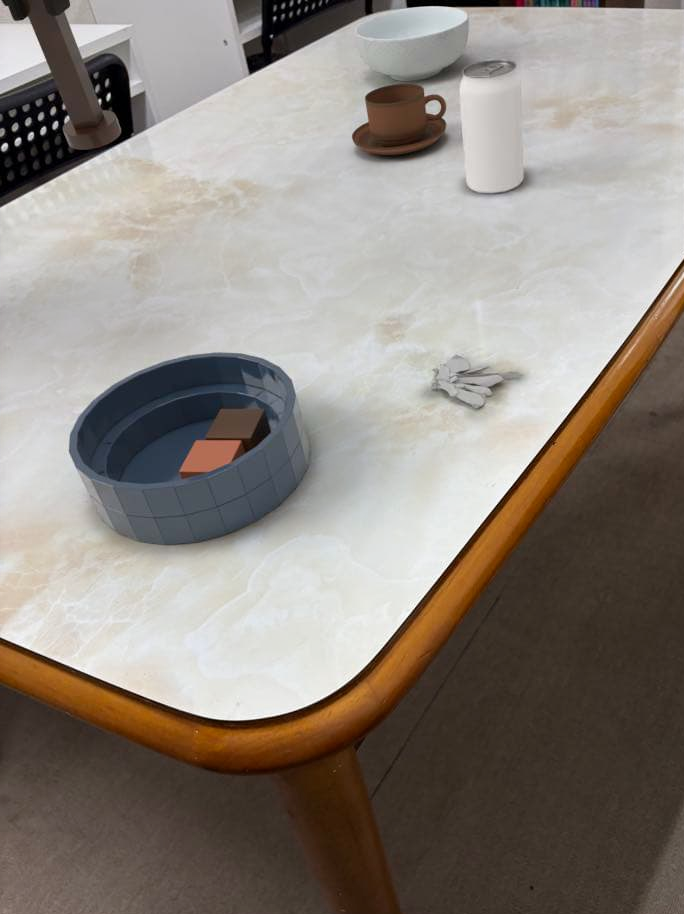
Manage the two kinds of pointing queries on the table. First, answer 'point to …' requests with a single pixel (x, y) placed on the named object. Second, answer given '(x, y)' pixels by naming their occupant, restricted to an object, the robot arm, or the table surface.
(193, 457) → the block terracotta
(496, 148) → the can
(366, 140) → the cup and saucer
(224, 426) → the block walnut
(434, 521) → the table surface
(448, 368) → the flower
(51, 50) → the stirrer
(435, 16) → the cereal bowl
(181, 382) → the bowl
